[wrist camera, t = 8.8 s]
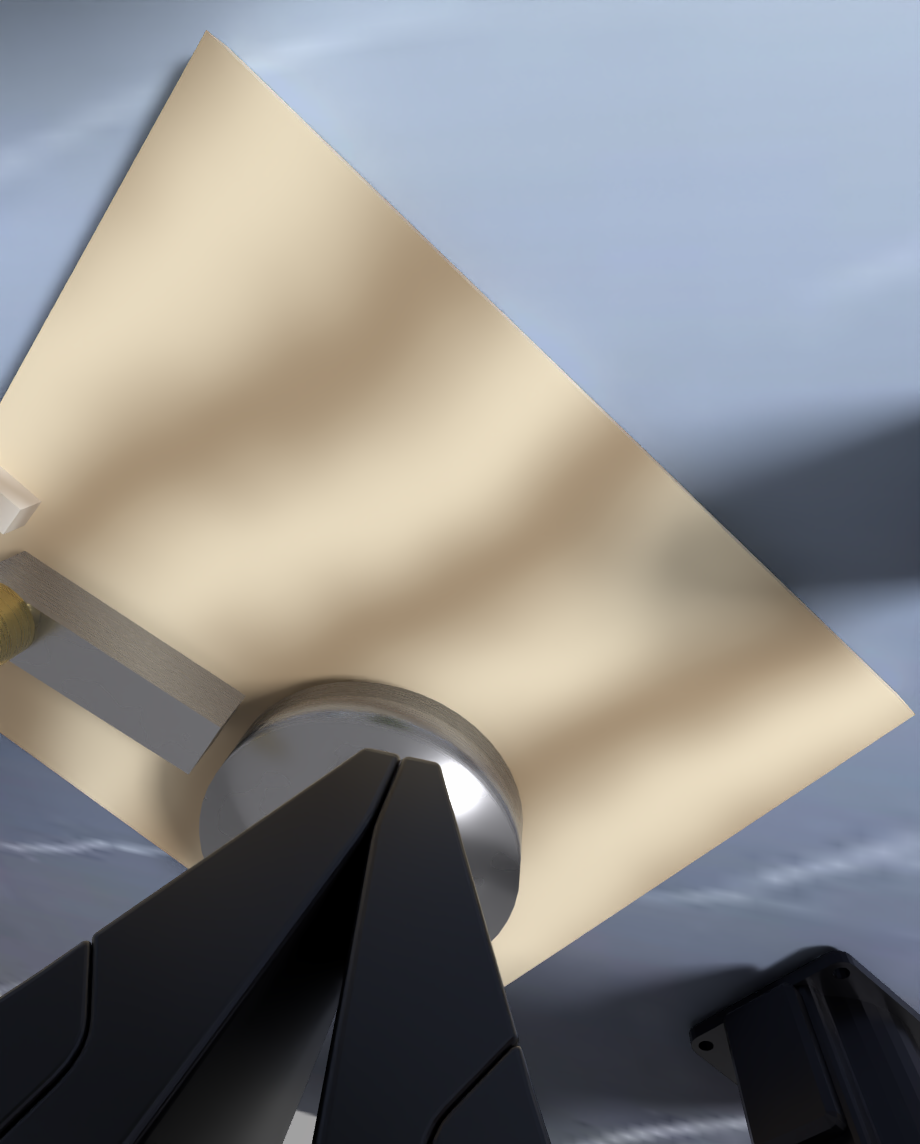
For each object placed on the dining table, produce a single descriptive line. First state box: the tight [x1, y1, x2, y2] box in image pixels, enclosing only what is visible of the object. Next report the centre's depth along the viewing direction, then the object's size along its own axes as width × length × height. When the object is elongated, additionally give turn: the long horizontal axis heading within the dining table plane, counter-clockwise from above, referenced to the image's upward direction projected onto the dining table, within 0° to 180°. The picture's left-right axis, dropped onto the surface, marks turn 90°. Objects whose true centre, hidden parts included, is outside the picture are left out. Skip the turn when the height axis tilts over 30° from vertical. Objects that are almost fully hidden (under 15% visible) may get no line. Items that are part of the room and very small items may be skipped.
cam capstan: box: [0, 551, 523, 942], centre depth 17 cm, size 17×9×6 cm, turn 54°
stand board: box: [0, 30, 915, 987], centre depth 20 cm, size 23×20×2 cm
